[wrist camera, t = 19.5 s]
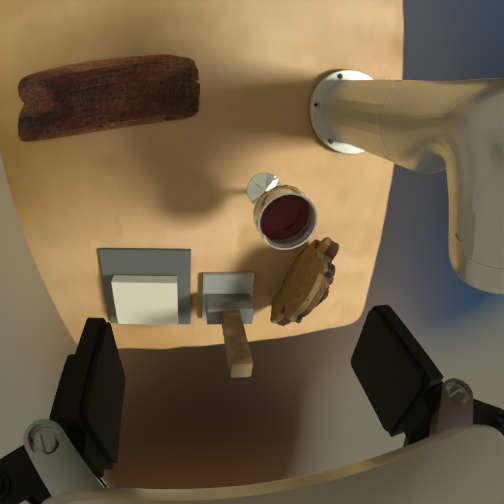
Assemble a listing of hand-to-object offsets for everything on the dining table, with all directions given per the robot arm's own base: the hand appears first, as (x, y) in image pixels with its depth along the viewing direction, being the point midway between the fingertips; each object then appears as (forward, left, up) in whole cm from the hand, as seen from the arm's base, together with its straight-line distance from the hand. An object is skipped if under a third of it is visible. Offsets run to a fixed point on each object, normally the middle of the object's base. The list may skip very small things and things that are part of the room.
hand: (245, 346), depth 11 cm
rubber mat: (+8, +21, -34) cm, 41 cm away
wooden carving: (-16, +17, -34) cm, 41 cm away
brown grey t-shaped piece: (-5, +23, -33) cm, 40 cm away
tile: (+8, +18, -32) cm, 38 cm away
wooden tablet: (+15, -8, -35) cm, 39 cm away
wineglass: (-9, +4, -34) cm, 35 cm away
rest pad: (-5, +22, -34) cm, 41 cm away
